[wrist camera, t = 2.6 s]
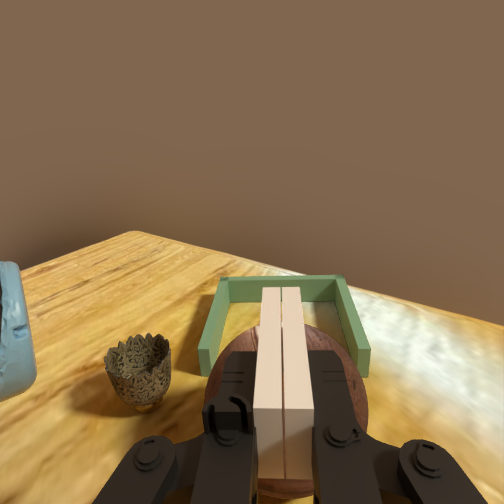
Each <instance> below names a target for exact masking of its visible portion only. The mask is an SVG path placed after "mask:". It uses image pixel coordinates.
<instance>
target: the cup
mask: <svg viewBox="0 0 504 504" xmlns="http://www.w3.org/2000/svg"><path fill="white" fill-rule="evenodd" d="M145 339H146V340H145ZM145 339H144V337H143V336H142V335H140V334H138V335H136V336H135V337H134V338H133V337H132V336H130V337H129V338H128V341H127V342H126V345H125V344H124V343H122V342H121V341H119V344H118V347H113V348H109V349H108V353H107V356H105V357H104V362H105V364H106V367H105V370H106V371H107V374H108V376H109V378H110V381H111V383H112V385H113V387H114V389H115V391H116V393H117V395H118V396H119V397H120V399H121V400H122V401H123V402H125V403H126V404H128V405H130V406H133V407H134V409H136V410H137V411H138V412H140V413H149V412H152V411H154V410H156V409H157V408H158V407H159V406H160V405H161V403H162V400H163V396H164V394H165V393H166V391H167V390H168V388H169V385H170V381H171V349H170V348H169V341H168V339H166V340H165V339H164V337H163V336H162V335H160V334H158V335H156V336H155V337H153V338H152V335H151V334H150V333H147V334H146V338H145Z"/></svg>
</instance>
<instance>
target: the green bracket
mask: <svg viewBox="0 0 504 504" xmlns="http://www.w3.org/2000/svg"><path fill="white" fill-rule="evenodd" d="M263 287H280V292H281V302H282V287H300V294H301V302H309V301H335V304H336V307H337V311H338V314H339V318H340V321H341V325H342V328H343V332H344V335H345V339H346V342H347V346H348V349H349V353H350V356H351V359H352V360H353V362H354V363H355V365H356V367H357V369H358V371H359V373H360V375H361V377H368V374H369V363H370V352H371V348H370V345H369V343H368V340H367V337H366V335H365V332H364V329H363V327H362V324H361V321H360V319H359V316H358V313H357V311H356V308H355V305H354V303H353V300H352V297H351V295H350V292H349V289H348V287H347V284H346V281H345V279H344V276H343V275H305V276H250V277H221V278H220V281H219V284H218V287H217V290H216V293H215V296H214V300H213V303H212V306H211V309H210V312H209V315H208V318H207V321H206V324H205V327H204V330H203V334H202V337H201V340H200V343H199V346H198V356H199V363H200V371H201V376H209V375H210V373H211V370H212V368H213V366H214V364H215V362H216V358H217V354H218V350H219V346H220V342H221V337H222V333H223V329H224V325H225V321H226V316H227V312H228V308H229V304H230V302H262V291H263Z"/></svg>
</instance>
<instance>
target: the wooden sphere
mask: <svg viewBox="0 0 504 504" xmlns="http://www.w3.org/2000/svg"><path fill="white" fill-rule="evenodd" d="M304 328H305V337H306V345H307V350H334V351H335V353H336V354H337V355H338V356H339V357H340V358H341V360H342V363H343V367H344V371H345V375H346V379H347V383H348V387H349V391H350V395H351V399H352V403H353V407H354V411H355V415H356V419H357V421H358V424H359V425H360V427H361V428H362V429H363V431H365V432H367V425H368V401H367V395H366V390H365V386H364V383H363V380H362V377H361V375H360V373H359V371H358V369H357V367H356V365H355V363H354V362H353V360H352V359H351V357H350V356H349V354H348V353H347V352H346V351H345V350H344V348H343V347H342V346H341V345H340V344H339V343H338V342H336V341H335V340H334V339H333V338H332V337H330V336H329V335H327V334H326V333H324V332H322V331H321V330H319V329H317V328H315V327H312V326H310V325H307V324H304ZM259 329H260V325H257V326H255V327H252V328H250V329H248V330H246V331H245V332H243V333H242V334H240V335H239V336H237V337H236V338H235V339H234V340H233V341H231V342H230V343H229V344H228V345H227V347H226V348H225V349H224V350H223V351H222V353H221V354H220V356H219V357H218V359H217V360H216V362H215V364H214V366H213V368H212V370H211V373H210V375H209V379H208V382H207V386H206V391H205V400H204V406H205V404H206V403H207V402H208V401H209V400H210V399H211V398H213V397H215V396H217V395H218V393H219V388H220V383H221V378H222V374H223V368H224V363H225V360H226V359H227V358H228V356H229V355H230V354H231V353H232V351H258V341H259ZM281 330H282V384H283V444H284V479H276V478H258V483H257V490H258V493H261V494H264V495H267V496H270V497H275V498H281V499H298V498H304V497H308V496H312V495H314V486H313V480H311V479H286V444H285V404H284V359H283V321H281Z"/></svg>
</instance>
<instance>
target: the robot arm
mask: <svg viewBox="0 0 504 504" xmlns="http://www.w3.org/2000/svg"><path fill="white" fill-rule="evenodd" d="M282 314H283V359H284V404H285V444H286V479H311V480H313V486H314V496H313V504H488V503H487V502H486V500H485V499H484V498H483V496H482V495H481V494H480V492H479V491H478V490H477V488H476V487H475V486H474V485H473V483H472V482H471V481H470V479H469V478H468V477H467V475H466V474H465V473H464V471H463V470H462V469H461V467H460V466H459V465H458V463H457V462H456V461H455V459H454V458H453V457H452V456H451V455H450V454H449V453H448V452H447V451H446V450H445V449H444V448H442V447H440V446H439V445H437V444H435V443H433V442H430V441H426V440H423V439H422V440H410V441H408V442H406V443H404V444H403V446H402V447H401V448H398V447H395V446H392V445H388V444H385V443H382V442H380V441H377V440H375V439H374V438H372V437H371V436H369V435H368V434H367V433H366V432H365V431H363V429H362V428H361V427H360V425H359V424H358V421H357V419H356V415H355V411H354V407H353V403H352V399H351V395H350V391H349V387H348V383H347V379H346V375H345V371H344V367H343V363H342V360H341V358H340V357H339V356H338V355H337V354H336V353H335V351H334V350H307V345H306V337H305V328H304V320H303V311H302V303H301V294H300V287H282ZM36 376H37V367H36V360H35V353H34V347H33V341H32V335H31V329H30V323H29V317H28V312H27V306H26V301H25V295H24V290H23V284H22V279H21V274H20V270H19V267H18V265H17V264H16V263H14V262H2V261H0V402H3V401H5V400H7V399H10V398H12V397H15V396H17V395H19V394H22V393H24V392H25V391H27V390H28V389H29V388H30V387H31V386H32V385H33V383H34V381H35V380H36ZM202 417H203V424H204V431H205V432H204V433H202V434H201V435H199V436H198V437H196V438H194V439H191V440H188V441H185V442H181V443H178V444H174V445H173V443H172V442H171V440H170V439H168V438H166V437H164V436H150V437H147V438H144V439H142V440H140V441H139V442H137V443H135V444H134V445H133V446H132V447H131V449H130V450H129V451H128V452H127V453H126V455H125V456H124V458H123V459H122V461H121V462H120V463H119V465H118V466H117V468H116V469H115V471H114V472H113V474H112V475H111V477H110V478H109V480H108V481H107V482H106V484H105V485H104V487H103V488H102V490H101V491H100V493H99V494H98V496H97V497H96V499H95V500H94V501H93V503H92V504H258V490H257V483H258V478H276V479H284V444H283V384H282V330H281V292H280V287H263V291H262V304H261V316H260V329H259V341H258V351H232V353H231V354H230V355H229V356H228V358H227V359H226V360H225V363H224V368H223V374H222V378H221V383H220V388H219V393H218V395H217V396H215V397H213V398H211V399H210V400H209V401H208V402H207V403H206V404H205V406H204V408H203V410H202Z"/></svg>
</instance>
